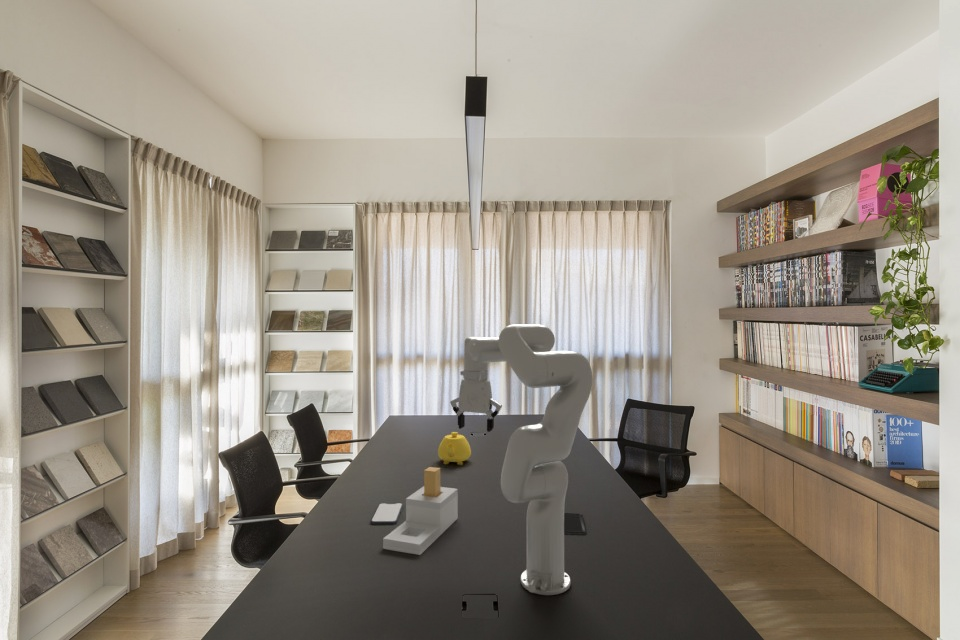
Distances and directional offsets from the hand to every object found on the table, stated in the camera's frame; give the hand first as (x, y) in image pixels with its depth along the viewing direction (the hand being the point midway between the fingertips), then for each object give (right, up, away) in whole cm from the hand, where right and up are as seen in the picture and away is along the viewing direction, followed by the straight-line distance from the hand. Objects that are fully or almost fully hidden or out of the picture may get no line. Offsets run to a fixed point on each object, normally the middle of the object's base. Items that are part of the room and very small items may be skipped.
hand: (475, 429), depth 163 cm
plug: (-14, -24, +5) cm, 28 cm away
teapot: (-11, -32, +75) cm, 82 cm away
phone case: (-30, -33, +13) cm, 47 cm away
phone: (+31, -33, +4) cm, 45 cm away
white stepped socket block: (-16, -32, -2) cm, 36 cm away
